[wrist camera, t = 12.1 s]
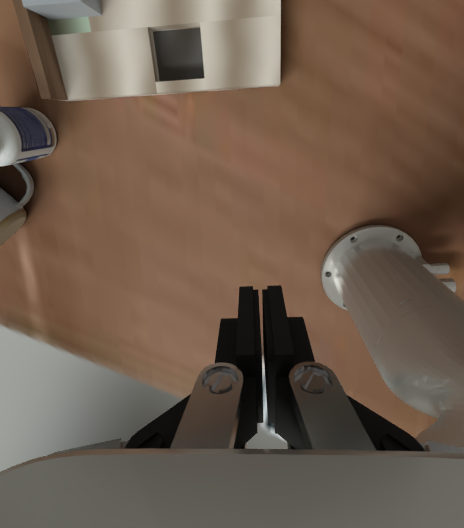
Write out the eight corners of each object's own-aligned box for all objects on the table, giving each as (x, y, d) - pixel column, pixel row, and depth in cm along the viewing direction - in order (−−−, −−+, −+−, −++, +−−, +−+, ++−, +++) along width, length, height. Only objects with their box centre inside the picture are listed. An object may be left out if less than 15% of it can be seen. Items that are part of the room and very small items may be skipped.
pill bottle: (21, 96, 34) (-58, 89, 25) (65, 129, 35) (5, 133, 27) (4, 137, 36) (-74, 144, 27) (47, 167, 37) (-15, 183, 29)
